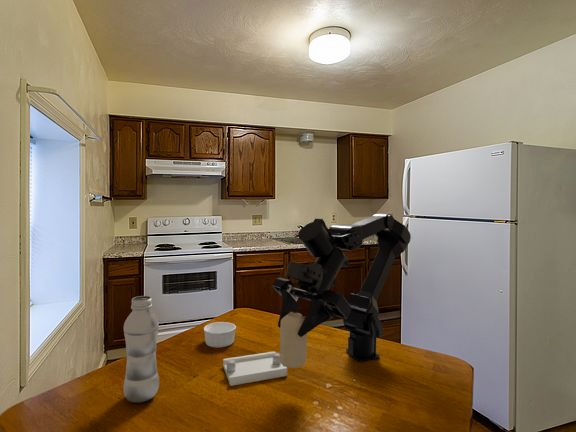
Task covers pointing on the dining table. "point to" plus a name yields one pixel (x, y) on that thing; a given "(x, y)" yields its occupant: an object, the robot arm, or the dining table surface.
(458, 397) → the dining table surface
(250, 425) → the dining table surface
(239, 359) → the tray
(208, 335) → the ramekin
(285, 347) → the candle
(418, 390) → the dining table surface
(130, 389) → the plastic bottle
